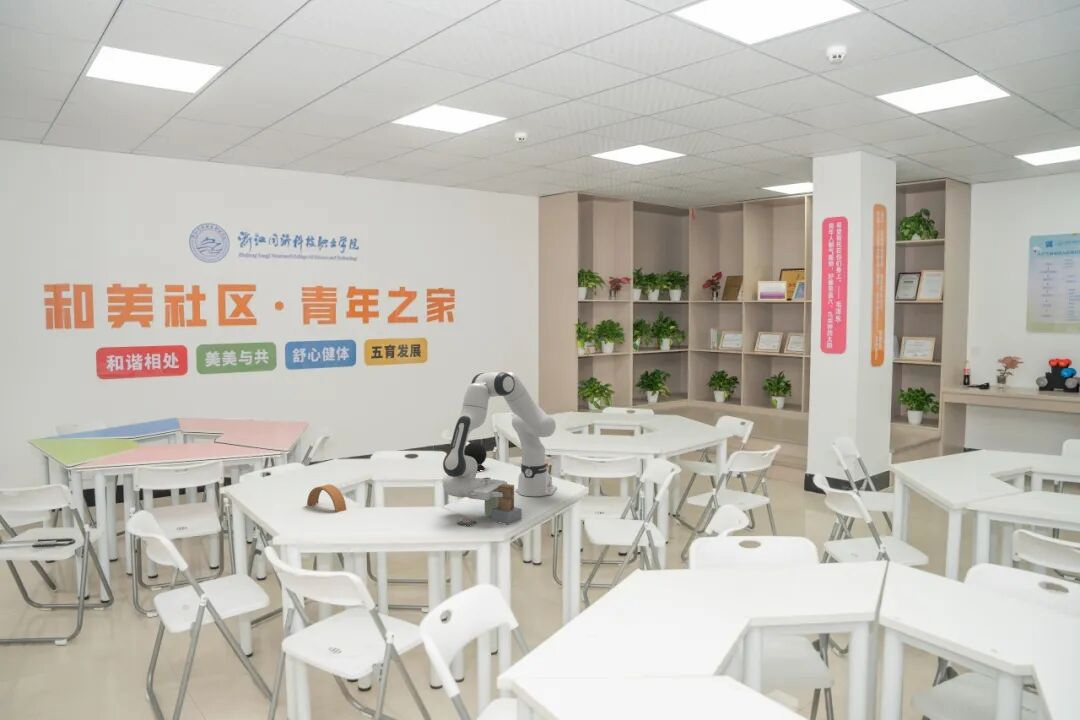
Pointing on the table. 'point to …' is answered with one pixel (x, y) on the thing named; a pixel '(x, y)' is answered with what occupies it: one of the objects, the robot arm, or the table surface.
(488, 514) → the sage green block
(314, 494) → the orange brown arch
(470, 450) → the snow globe
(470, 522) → the card
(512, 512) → the slate base block
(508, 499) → the walnut block
